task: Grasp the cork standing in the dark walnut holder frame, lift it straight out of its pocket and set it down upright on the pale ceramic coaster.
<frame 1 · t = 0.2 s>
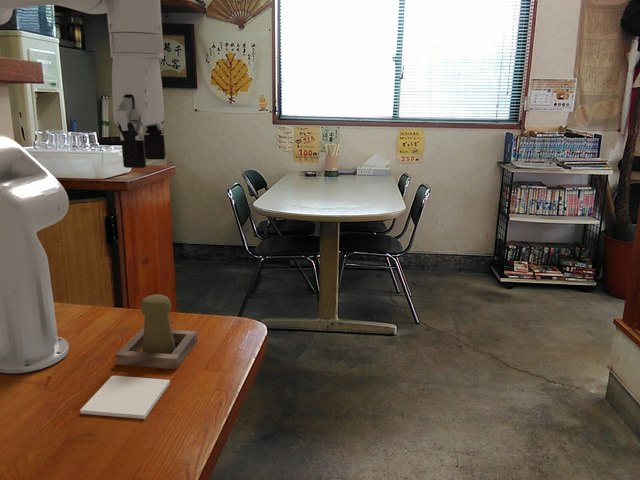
hand: (145, 163, 83), 36 cm above the table, tool pointing down, fingers open, 9 cm apart
holder: (159, 352, 98), on the table
coaster: (127, 397, 83), on the table
cork: (159, 353, 98), resting in holder
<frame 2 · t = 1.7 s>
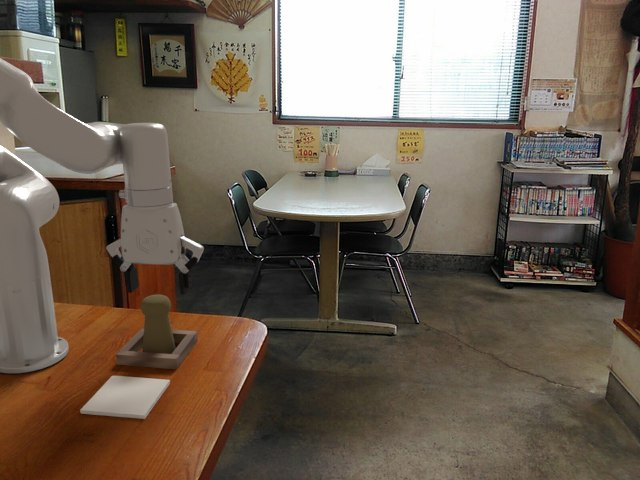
hand: (159, 290, 95), 12 cm above the table, tool pointing down, fingers open, 9 cm apart
nothing on the table moved.
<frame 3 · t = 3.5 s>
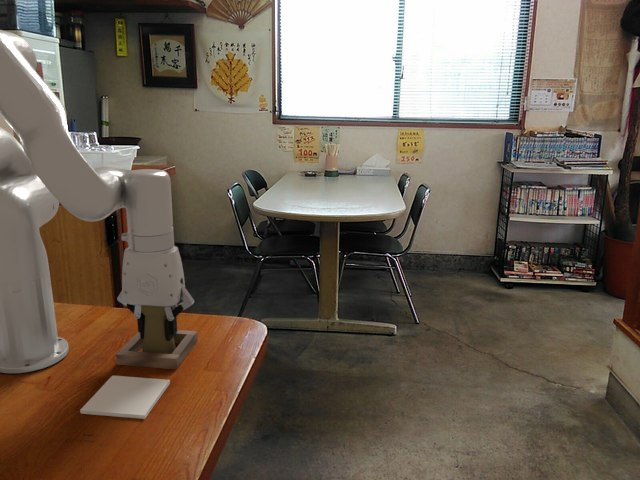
hand: (158, 335, 97), 3 cm above the table, tool pointing down, fingers closed on cork, 4 cm apart
cork: (159, 353, 98), resting in holder, touching gripper
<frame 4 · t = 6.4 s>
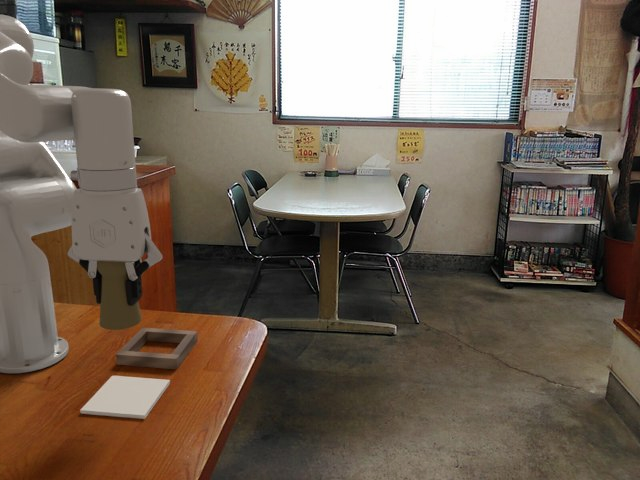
hand: (119, 300, 79), 17 cm above the table, tool pointing down, fingers closed on cork, 4 cm apart
cork: (121, 322, 80), point 13 cm above the table, touching gripper
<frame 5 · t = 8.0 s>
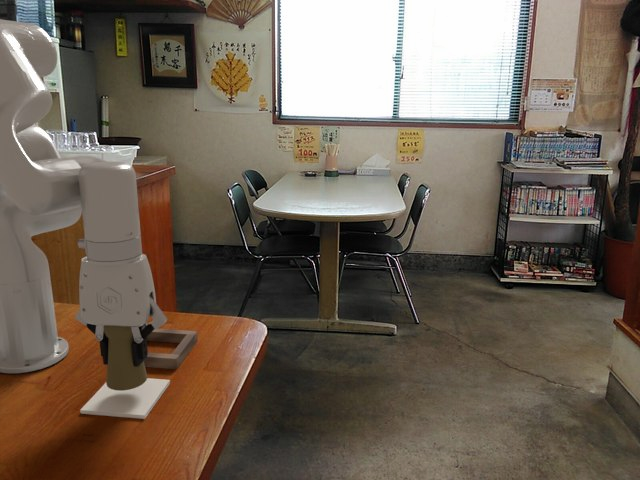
hand: (125, 360, 82), 7 cm above the table, tool pointing down, fingers closed on cork, 4 cm apart
cork: (127, 381, 83), point 3 cm above the table, touching gripper
when the fingers open (5 cm above the table, at t = 9.1 s): cork drops 1 cm, resting on coaster.
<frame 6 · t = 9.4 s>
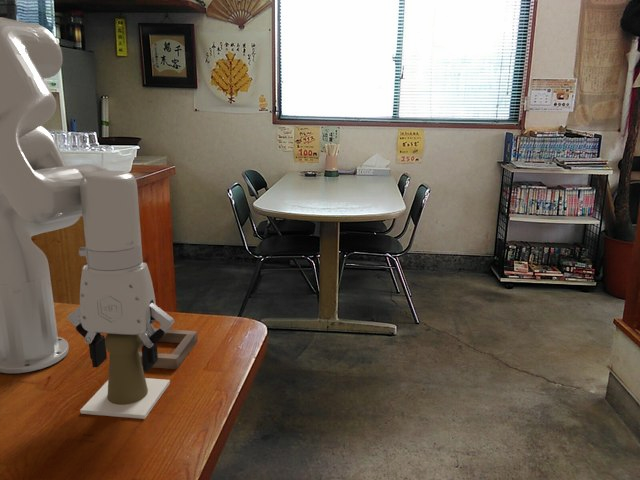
hand: (124, 364, 82), 6 cm above the table, tool pointing down, fingers open, 7 cm apart
cork: (128, 394, 83), resting on coaster
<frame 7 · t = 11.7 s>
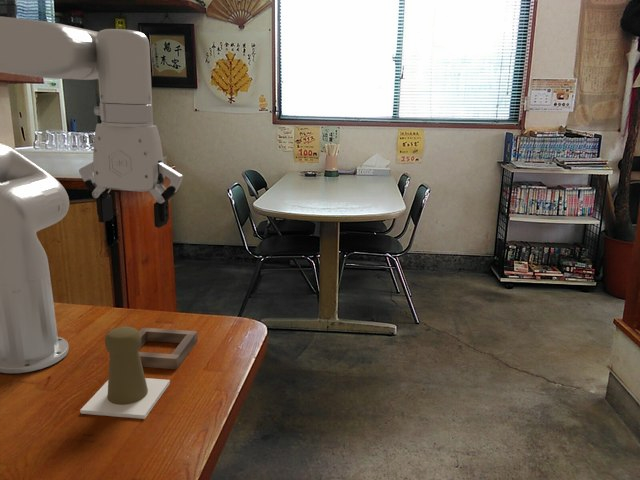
hand: (133, 223, 86), 26 cm above the table, tool pointing down, fingers open, 9 cm apart
nothing on the table moved.
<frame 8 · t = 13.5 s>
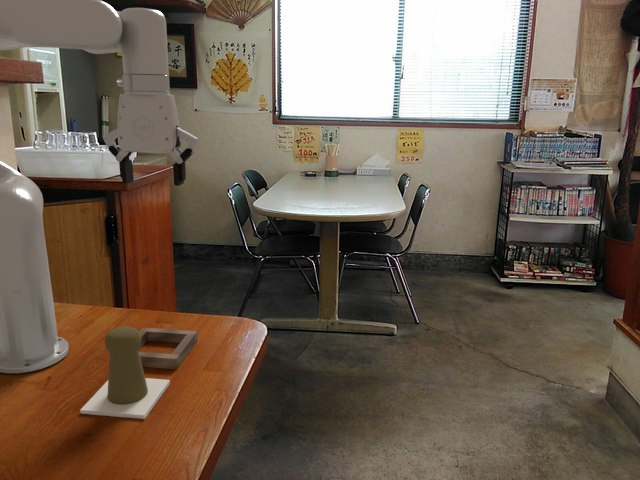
hand: (153, 183, 96), 30 cm above the table, tool pointing down, fingers open, 9 cm apart
nothing on the table moved.
at the end: cork inside the target area on the coaster (0.1 cm from its centre), point 0.4 cm above the coaster's base; cork tilted 0°; the gripper is holding nothing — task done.
